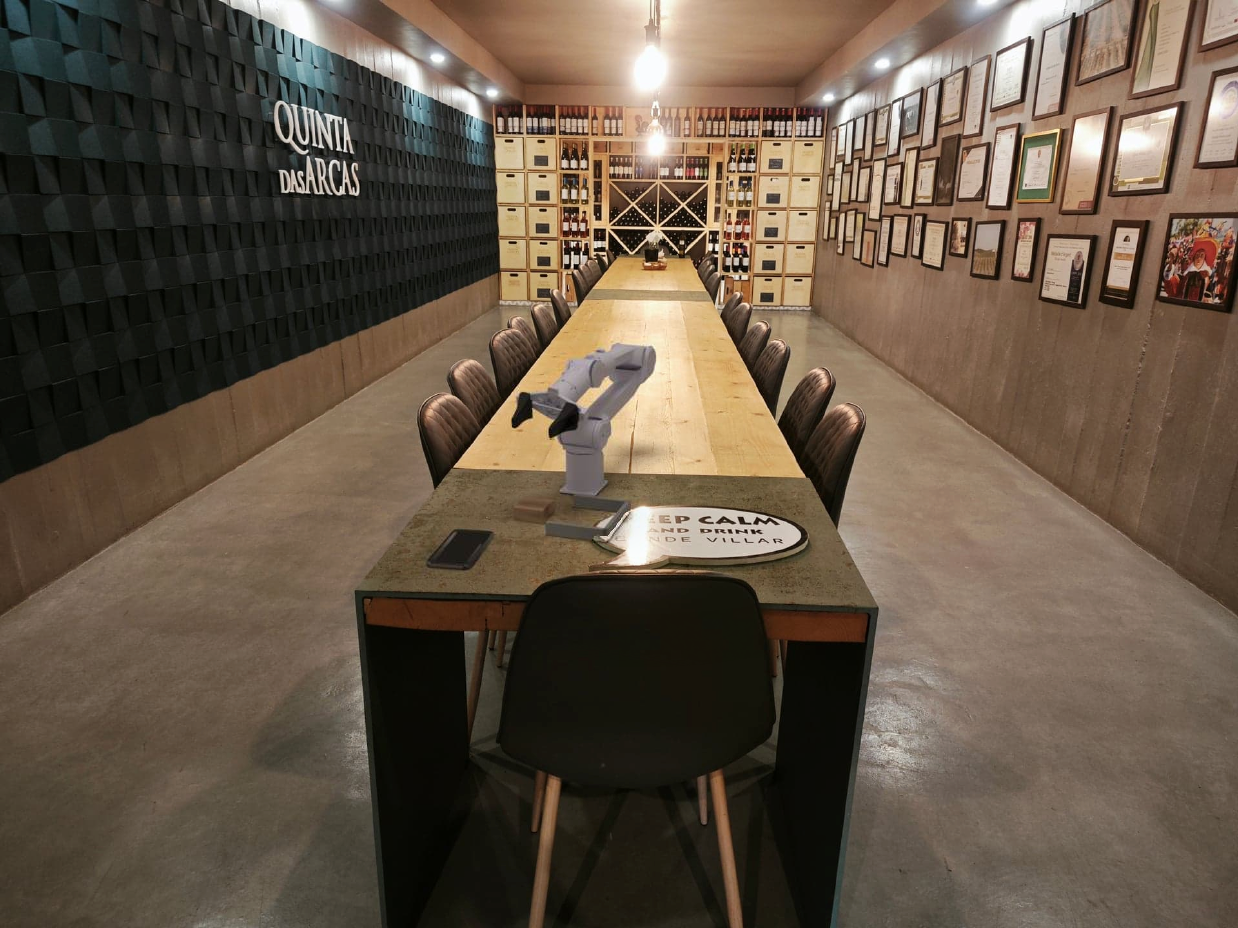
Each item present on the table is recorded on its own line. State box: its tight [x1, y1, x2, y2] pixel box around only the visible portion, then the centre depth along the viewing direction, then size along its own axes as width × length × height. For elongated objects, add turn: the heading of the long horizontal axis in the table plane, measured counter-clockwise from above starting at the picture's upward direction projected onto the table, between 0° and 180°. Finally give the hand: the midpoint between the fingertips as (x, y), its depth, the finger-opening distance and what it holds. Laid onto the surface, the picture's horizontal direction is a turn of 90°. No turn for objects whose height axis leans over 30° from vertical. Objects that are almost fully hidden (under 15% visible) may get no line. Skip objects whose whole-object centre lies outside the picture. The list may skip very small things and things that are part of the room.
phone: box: [426, 528, 495, 571], centre depth 138 cm, size 8×1×15 cm
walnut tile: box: [512, 496, 555, 525], centre depth 153 cm, size 6×6×3 cm
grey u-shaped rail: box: [545, 494, 632, 542], centre depth 149 cm, size 16×12×2 cm
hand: (531, 428), depth 144 cm, fingers open, 7 cm apart
